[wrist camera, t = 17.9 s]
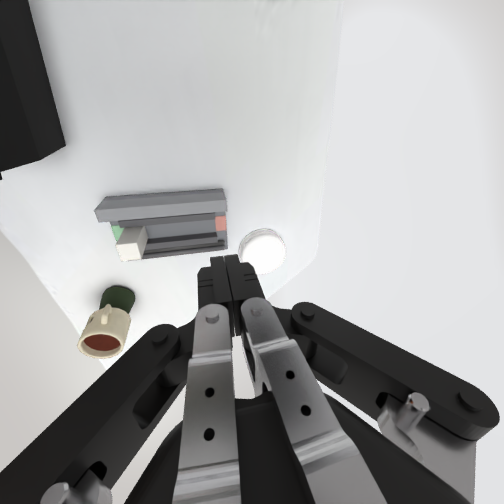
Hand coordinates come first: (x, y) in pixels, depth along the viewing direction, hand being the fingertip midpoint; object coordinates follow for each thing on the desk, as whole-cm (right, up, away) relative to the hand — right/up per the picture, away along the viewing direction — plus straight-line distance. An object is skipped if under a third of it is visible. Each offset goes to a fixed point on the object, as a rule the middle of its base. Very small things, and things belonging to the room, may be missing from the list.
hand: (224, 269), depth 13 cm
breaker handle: (-19, +5, +29) cm, 35 cm away
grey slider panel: (-14, +7, +32) cm, 36 cm away
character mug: (-27, -8, +39) cm, 48 cm away
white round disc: (+3, +2, +40) cm, 41 cm away
